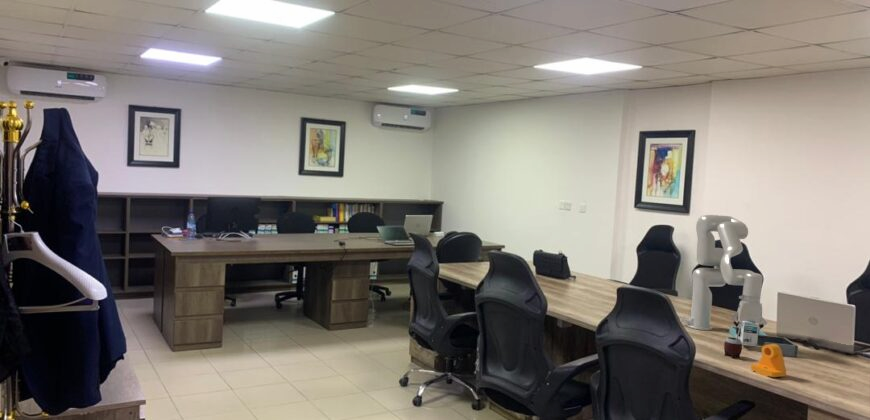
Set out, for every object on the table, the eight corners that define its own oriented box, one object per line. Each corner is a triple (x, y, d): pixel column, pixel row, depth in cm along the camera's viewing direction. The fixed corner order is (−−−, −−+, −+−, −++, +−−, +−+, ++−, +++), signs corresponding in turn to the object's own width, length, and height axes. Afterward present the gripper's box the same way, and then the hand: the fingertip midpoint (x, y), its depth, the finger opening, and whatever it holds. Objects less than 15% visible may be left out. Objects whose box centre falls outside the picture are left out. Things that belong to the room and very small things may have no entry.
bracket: (749, 370, 255) (752, 341, 254) (761, 369, 258) (764, 340, 257) (773, 379, 245) (776, 349, 244) (785, 377, 248) (788, 348, 247)
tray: (739, 341, 304) (739, 334, 303) (728, 332, 321) (729, 326, 321) (770, 344, 301) (770, 337, 301) (758, 336, 319) (758, 329, 318)
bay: (764, 353, 284) (765, 342, 283) (752, 344, 300) (753, 334, 299) (797, 357, 281) (798, 346, 281) (783, 347, 297) (784, 337, 297)
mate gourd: (723, 357, 273) (727, 323, 272) (722, 352, 280) (725, 319, 279) (742, 360, 270) (746, 325, 269) (741, 355, 277) (744, 322, 277)
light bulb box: (757, 346, 287) (760, 323, 286) (741, 344, 289) (744, 321, 288) (750, 340, 298) (753, 318, 297) (735, 338, 299) (737, 316, 298)
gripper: (733, 299, 290) (729, 336, 291) (773, 303, 286) (769, 341, 288) (729, 295, 297) (725, 332, 298) (768, 299, 294) (764, 336, 295)
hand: (746, 336), depth 293 cm, fingers closed on light bulb box, 6 cm apart
